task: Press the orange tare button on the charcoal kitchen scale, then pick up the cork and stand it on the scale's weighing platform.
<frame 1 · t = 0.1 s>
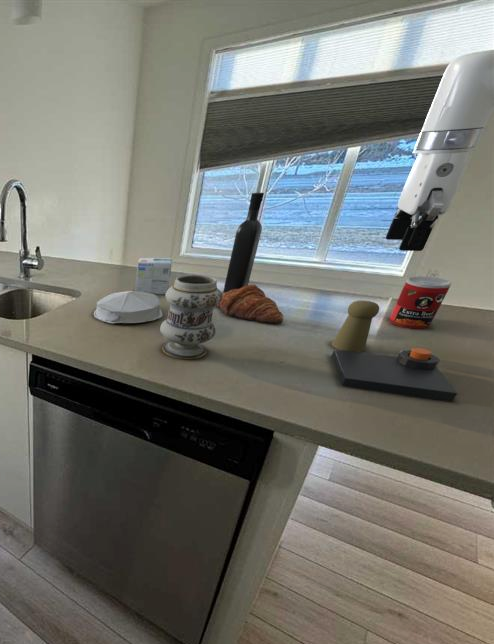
hand: (402, 244, 78), 25 cm above the worktop, tool pointing down, fingers open, 9 cm apart
cork: (347, 347, 95), on the worktop
canned food: (408, 323, 103), on the worktop
apothecary jar: (183, 351, 100), on the worktop
wine bottle: (233, 294, 131), on the worktop
light bulb box: (151, 291, 140), on the worktop
food container: (127, 314, 124), on the worktop
tare button: (420, 354, 82), point 4 cm above the worktop, slide at 0.1 cm
scale: (385, 376, 83), on the worktop
pastry: (244, 313, 117), on the worktop
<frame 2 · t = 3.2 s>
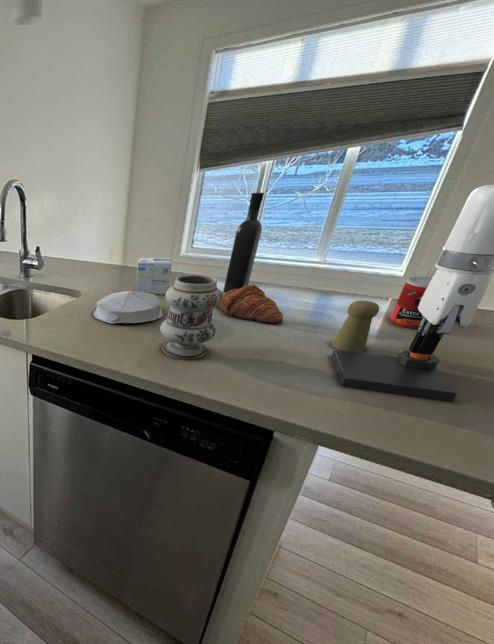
hand: (420, 351, 82), 4 cm above the worktop, tool pointing down, fingers closed
tare button: (419, 355, 82), point 4 cm above the worktop, slide at -0.2 cm, touching gripper
everything else where it was.
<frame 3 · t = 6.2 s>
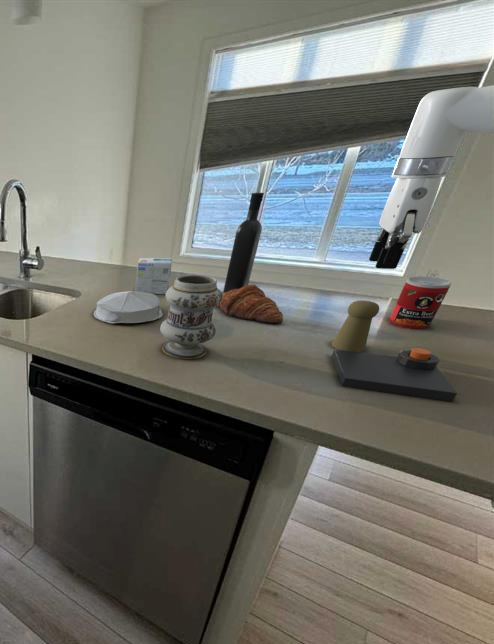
hand: (381, 263, 85), 19 cm above the worktop, tool pointing down, fingers open, 5 cm apart
tare button: (420, 354, 82), point 4 cm above the worktop, slide at 0.1 cm
everything else where it was.
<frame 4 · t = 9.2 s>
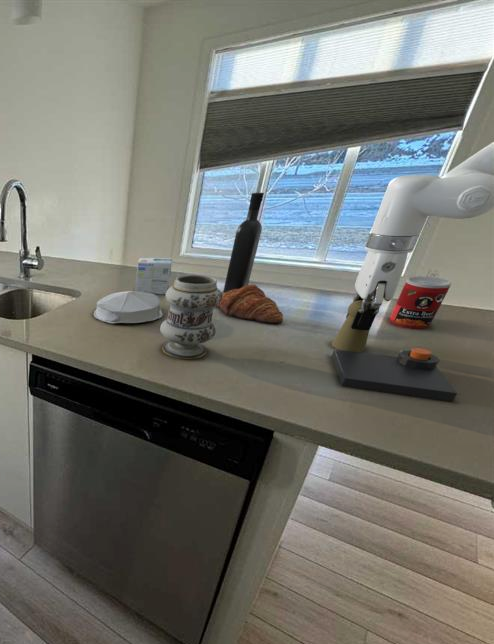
hand: (357, 323, 92), 6 cm above the worktop, tool pointing down, fingers closed on cork, 5 cm apart
cork: (347, 347, 95), on the worktop, touching gripper
everything else where it was.
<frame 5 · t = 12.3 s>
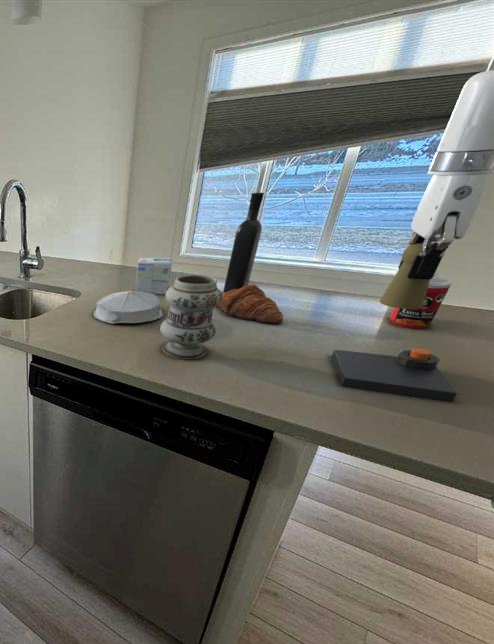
hand: (414, 273, 74), 21 cm above the worktop, tool pointing down, fingers closed on cork, 5 cm apart
cork: (400, 304, 77), point 15 cm above the worktop, touching gripper
everything else where it was.
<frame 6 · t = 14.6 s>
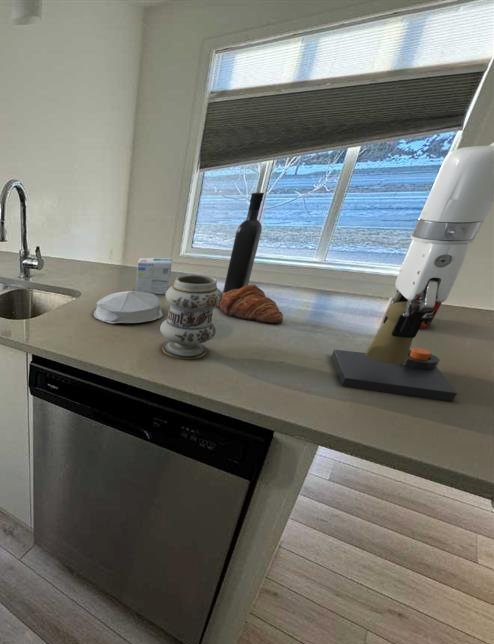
hand: (398, 329, 77), 11 cm above the worktop, tool pointing down, fingers closed on cork, 5 cm apart
cork: (384, 357, 80), point 5 cm above the worktop, touching gripper
everything else where it was.
when the fingers open (8 cm above the worktop, at t = 15.9 s): cork stays where it is, resting on scale.
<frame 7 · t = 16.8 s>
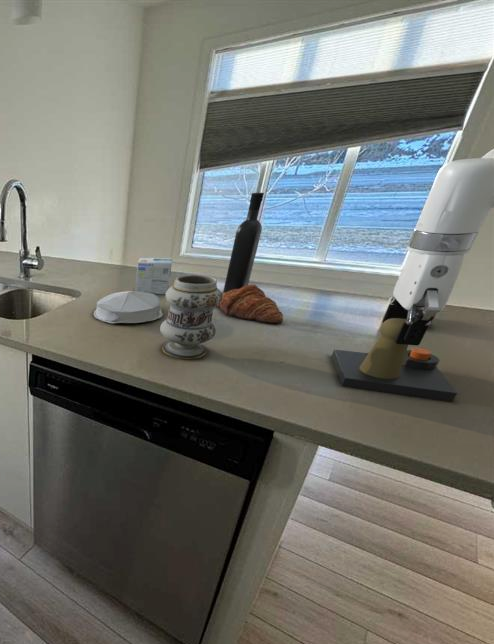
hand: (399, 333, 77), 10 cm above the worktop, tool pointing down, fingers open, 9 cm apart
cork: (378, 372, 82), point 2 cm above the worktop, touching scale
everything else where it was.
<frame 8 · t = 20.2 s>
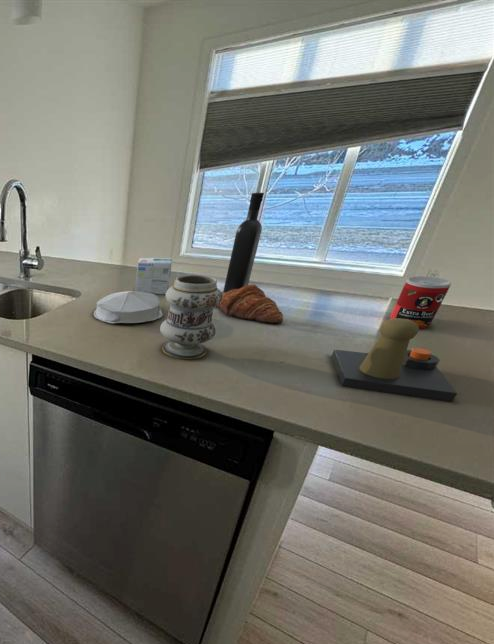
nothing on the worktop moved.
at the end: tare button pushed in 0.9 cm at the most during the clip, back to where it started at the end; cork inside the target area on the scale (2.8 cm from its centre), point 1.7 cm above the scale's base; cork tilted 0° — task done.
